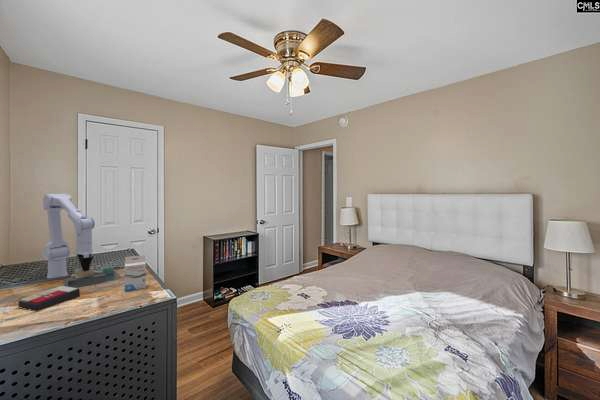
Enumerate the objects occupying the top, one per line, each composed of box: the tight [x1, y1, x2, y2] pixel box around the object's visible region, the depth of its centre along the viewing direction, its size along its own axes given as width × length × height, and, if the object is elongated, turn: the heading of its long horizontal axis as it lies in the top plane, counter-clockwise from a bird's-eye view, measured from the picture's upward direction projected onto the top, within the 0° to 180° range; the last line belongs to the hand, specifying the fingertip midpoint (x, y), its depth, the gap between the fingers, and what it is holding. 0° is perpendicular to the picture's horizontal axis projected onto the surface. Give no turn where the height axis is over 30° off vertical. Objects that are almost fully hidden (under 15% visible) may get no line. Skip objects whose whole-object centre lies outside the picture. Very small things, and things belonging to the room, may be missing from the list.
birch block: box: [74, 266, 95, 278], centre depth 132 cm, size 4×7×6 cm, turn 134°
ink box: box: [124, 254, 147, 292], centre depth 123 cm, size 8×5×15 cm, turn 123°
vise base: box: [63, 270, 123, 288], centre depth 134 cm, size 19×22×4 cm
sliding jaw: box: [71, 265, 115, 279], centre depth 138 cm, size 3×18×4 cm, turn 134°
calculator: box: [17, 285, 81, 312], centre depth 108 cm, size 11×4×15 cm
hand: (85, 269), depth 132 cm, fingers open, 7 cm apart
